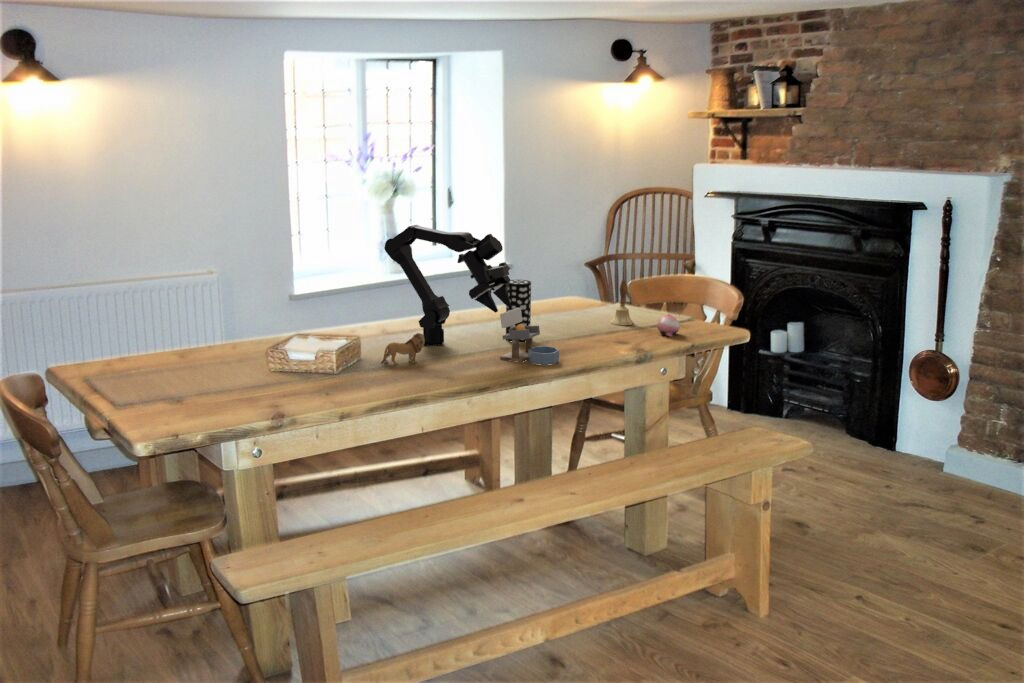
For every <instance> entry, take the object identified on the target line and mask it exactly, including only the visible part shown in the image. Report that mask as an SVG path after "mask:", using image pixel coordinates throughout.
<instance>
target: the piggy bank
mask: <svg viewBox="0 0 1024 683" xmlns="http://www.w3.org/2000/svg"><path fill="white" fill-rule="evenodd" d="M656 328H657V330H658V331H659V333H660V334H661V335H663V336H667V337H669V338H674V337H675V335H677V334H678V332H679V331H680V328H681V325H680V322H679V320H678V319H677V318H676V317H675V316H673V315H672V314H670V313H667V314H666V315H664V316H662V317H660V319H658V321H657V324H656Z"/></svg>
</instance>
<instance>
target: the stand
mask: <svg viewBox="0 0 1024 683" xmlns="http://www.w3.org/2000/svg"><path fill="white" fill-rule="evenodd" d="M533 338H534V337H532V338H530V339H526V342H524V343H525V346H524V347H525V348H524V350H523V349H520V343H519V340H518V339H512V342H511V351H510V352H507V353H504V354H502V355H500V356H499V359H500V360H502V361H508V360H511V361H510V362H514V361H518V362H517V363H520V362H523V361H525V360H527V361H528V349H530V348H532V347H533ZM525 362H526V361H525ZM523 363H524V362H523Z"/></svg>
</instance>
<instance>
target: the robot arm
mask: <svg viewBox="0 0 1024 683" xmlns="http://www.w3.org/2000/svg"><path fill="white" fill-rule="evenodd" d="M416 240H420V241H425V242H429V243H430V242H431V243H435V244H438V245H439V244H440V245H443V246H445V247H446V248H448V249H450V250H452V251H454V252H456V253H460V254H458V258H457V263H458V264H460V263H464V264H465V265H466V267H467V269H468V270H469V272H470V273H471V274H470V275H469V276H470V278H471V279H474V280H475V282H476V284H477V285H474V286H473V288H470V289H469V291H468V295H469V297H470V299H471V300H473V299H474V301H475V302H479V303H480V304H481V305H483V306H485V307H486V308H488V309H489V310H491V311H493V312H494V313H498V312H499V310H498V307H497V304H496V302H495V301H494V298H493V296H492V293H493V294H494V295H495V296H496V297H497V298H498V299H499V300H500V301H501V302H502V303H503V304H504V305H505V307H506V306H508V307H510V306H511V303H510V299H509V295H508V290H507V288H508V285H509V284H510V282H509V281H510V280H511V279H510V278H511V277H510V276H509V275H510V272H509V270H511V267H510V266H509V264H507V262H506V261H504V262H501V263H499V264H498V266H496V267H493V266H492V265H491V264H487V263H486V261H490V260H491V259H493V258H494V257H496V256H497V255H498V254H500V253H501V252H502V251H503V244H502V243H501V241H500V240H499V239H497V237H495V236H493V234H492V233H489V234H487V235H485V237H483V238H482V239H479V238H476V237H474V236H473V235H472V233H470V232H467V231H458V232H457V231H456V232H454V231H453V232H448V231H444V230H439V229H434V228H430V227H425V226H421V225H418V224H414V225H410V226H409V225H408V227H406V228H405V229H404V230H403V231H401V232H400V233H398V234H397V235H395V236H394V237H391V238H389V239H387V240H386V241H385V243H384V250H385V253H386V254H387V256H389V258H390V259H391V260H393V261H394V262H395V263H396V264H398V265H399V266H400V267H401V269H402V271H403V272H404V274H405V276H406V278H407V279H408V280H409V282H410V284H411V286H412V287H413V289H414V291H415V292H416V294H417V296H418V297H419V299H420V301H421V304H422V305H421V306H422V312H423V314H424V315H423V316H422V317H421V318H420V319H419V320H418V324H419V327H420V328H422V329H423V330H422V334H423V335H424V338H425V343H424V346H443V343H445V329H444V328H443V325H444V324H446V320H447V319H449V316H450V312H451V310H450V308H449V307H450V305H449V303H447V301H446V298H445V297H444V296H443V295H440V296H438V295H436V294H435V293H434V291H433V289H432V288H431V286H430V284H429V283H428V282H427V279H426V278H425V276H424V274H423V273H422V271H421V270H420V267H419V265H418V264H417V263H416V261H415V259H414V258H413V250H412V247H411V245H412V244H414V242H415V241H416ZM473 249H474V250H473ZM465 251H467V252H465ZM462 252H465V253H462ZM492 291H493V292H492Z"/></svg>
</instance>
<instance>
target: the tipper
mask: <svg viewBox="0 0 1024 683" xmlns="http://www.w3.org/2000/svg"><path fill="white" fill-rule="evenodd" d="M499 316H500V318H499V319H500V324H501V329H506V327H509V326H510V329H509V333H508V334H506V333H505V334H503V335H502V340H506V339H530V338H532V337H533V338H534V337H537V336H539V335H540V334H541V331H540V325H530V326H525V330H515V328H516V327H515V324H517V323H519V322H522V314H521V308H515V309H513V310H510V311H507V312H506V311H505V312H502V313H500V314H499ZM533 338H532V339H533Z"/></svg>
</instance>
